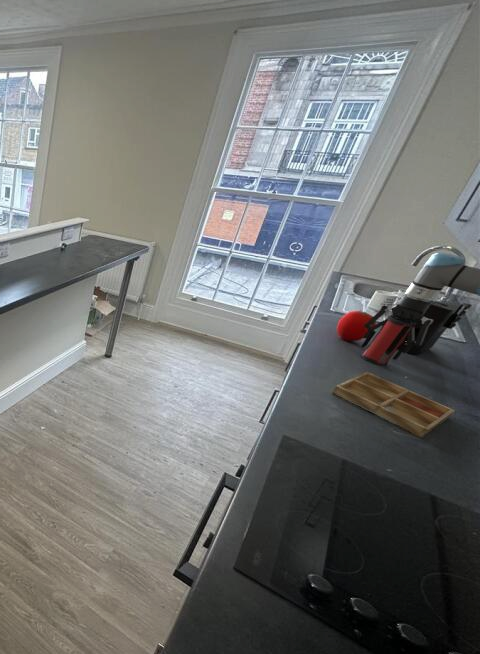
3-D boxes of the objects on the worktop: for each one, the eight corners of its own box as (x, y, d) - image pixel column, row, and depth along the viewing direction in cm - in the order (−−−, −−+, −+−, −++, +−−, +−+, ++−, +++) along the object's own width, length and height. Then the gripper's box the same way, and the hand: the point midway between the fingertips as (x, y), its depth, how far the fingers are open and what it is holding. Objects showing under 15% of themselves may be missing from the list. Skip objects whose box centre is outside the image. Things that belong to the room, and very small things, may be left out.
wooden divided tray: (448, 418, 123) (455, 410, 122) (420, 437, 113) (428, 429, 112) (361, 379, 140) (367, 371, 138) (331, 393, 130) (336, 385, 128)
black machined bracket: (385, 345, 166) (421, 296, 155) (404, 337, 175) (439, 290, 164) (422, 359, 157) (463, 309, 146) (440, 350, 167) (479, 301, 155)
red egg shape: (334, 330, 175) (350, 304, 168) (365, 341, 168) (384, 313, 161) (327, 337, 168) (345, 309, 162) (360, 348, 161) (379, 320, 155)
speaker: (369, 363, 151) (399, 321, 141) (355, 353, 157) (384, 312, 148) (391, 367, 150) (423, 324, 140) (377, 356, 156) (407, 315, 147)
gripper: (375, 287, 146) (341, 340, 158) (457, 312, 130) (411, 369, 142) (384, 285, 150) (349, 337, 161) (464, 309, 134) (419, 365, 145)
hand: (378, 352), depth 152 cm, fingers open, 9 cm apart
